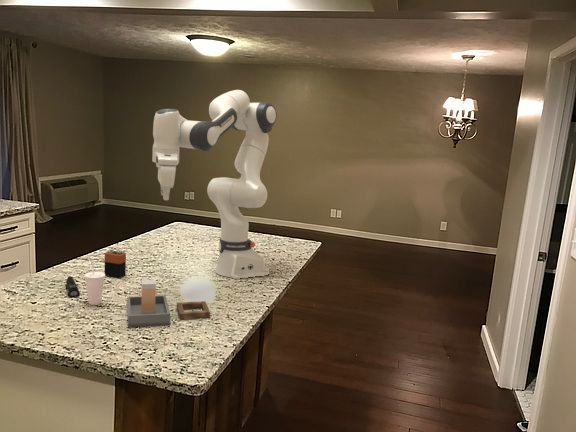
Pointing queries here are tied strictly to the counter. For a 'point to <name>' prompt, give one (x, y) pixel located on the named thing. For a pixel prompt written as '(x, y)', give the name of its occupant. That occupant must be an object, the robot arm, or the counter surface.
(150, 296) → the block
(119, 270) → the battery
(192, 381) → the counter surface
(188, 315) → the frame
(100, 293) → the smoothie
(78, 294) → the electric trimmer
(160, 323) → the tray
